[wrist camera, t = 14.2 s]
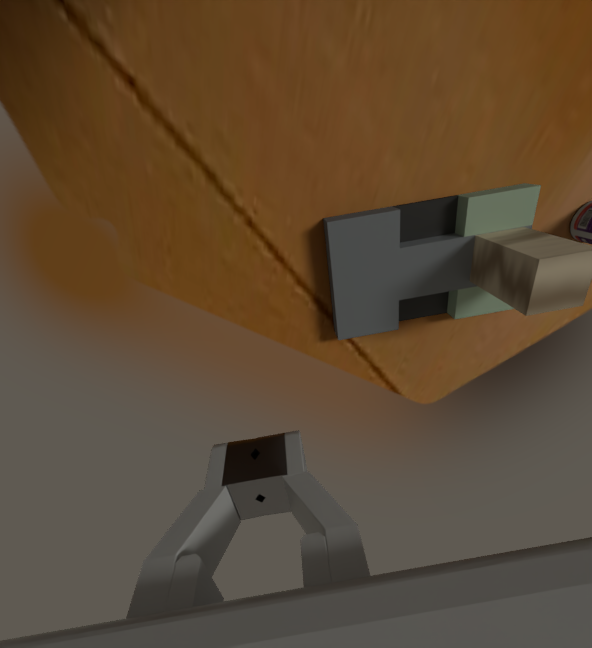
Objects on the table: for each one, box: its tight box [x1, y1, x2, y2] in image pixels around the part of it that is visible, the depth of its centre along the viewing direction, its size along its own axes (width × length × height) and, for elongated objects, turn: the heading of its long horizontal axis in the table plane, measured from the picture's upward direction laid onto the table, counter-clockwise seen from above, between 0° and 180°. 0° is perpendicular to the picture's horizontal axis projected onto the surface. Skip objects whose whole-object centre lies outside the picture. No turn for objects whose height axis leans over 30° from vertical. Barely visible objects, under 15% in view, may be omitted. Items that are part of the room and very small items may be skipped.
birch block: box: [470, 227, 592, 316], centre depth 35 cm, size 6×6×10 cm
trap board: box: [323, 184, 541, 340], centre depth 41 cm, size 16×25×2 cm, turn 98°
